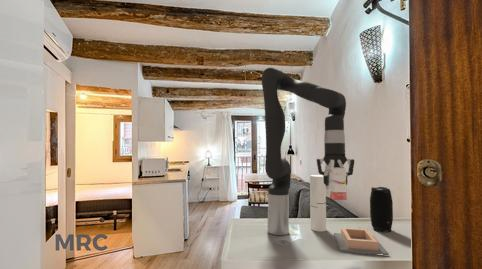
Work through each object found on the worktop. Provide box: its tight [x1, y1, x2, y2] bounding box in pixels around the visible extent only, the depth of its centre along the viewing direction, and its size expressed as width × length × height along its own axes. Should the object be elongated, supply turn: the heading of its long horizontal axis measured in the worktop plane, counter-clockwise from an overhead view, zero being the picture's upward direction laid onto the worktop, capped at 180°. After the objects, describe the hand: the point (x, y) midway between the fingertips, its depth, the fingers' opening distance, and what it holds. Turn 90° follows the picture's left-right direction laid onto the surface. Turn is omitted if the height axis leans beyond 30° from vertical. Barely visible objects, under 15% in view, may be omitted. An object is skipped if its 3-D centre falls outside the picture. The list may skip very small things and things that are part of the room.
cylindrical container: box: [309, 174, 327, 232], centre depth 118 cm, size 7×7×25 cm
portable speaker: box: [369, 186, 394, 233], centre depth 117 cm, size 9×9×20 cm
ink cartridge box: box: [324, 160, 347, 201], centre depth 95 cm, size 9×5×15 cm, turn 4°
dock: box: [333, 227, 390, 256], centre depth 99 cm, size 16×18×4 cm
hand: (335, 185), depth 95 cm, fingers closed on ink cartridge box, 6 cm apart
